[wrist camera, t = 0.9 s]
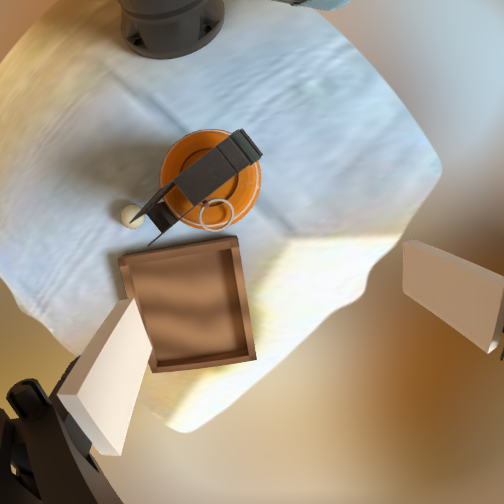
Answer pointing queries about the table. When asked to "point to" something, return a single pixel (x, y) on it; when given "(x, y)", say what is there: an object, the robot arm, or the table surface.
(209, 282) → the tray
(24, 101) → the table surface
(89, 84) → the table surface
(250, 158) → the canister
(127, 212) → the ball
